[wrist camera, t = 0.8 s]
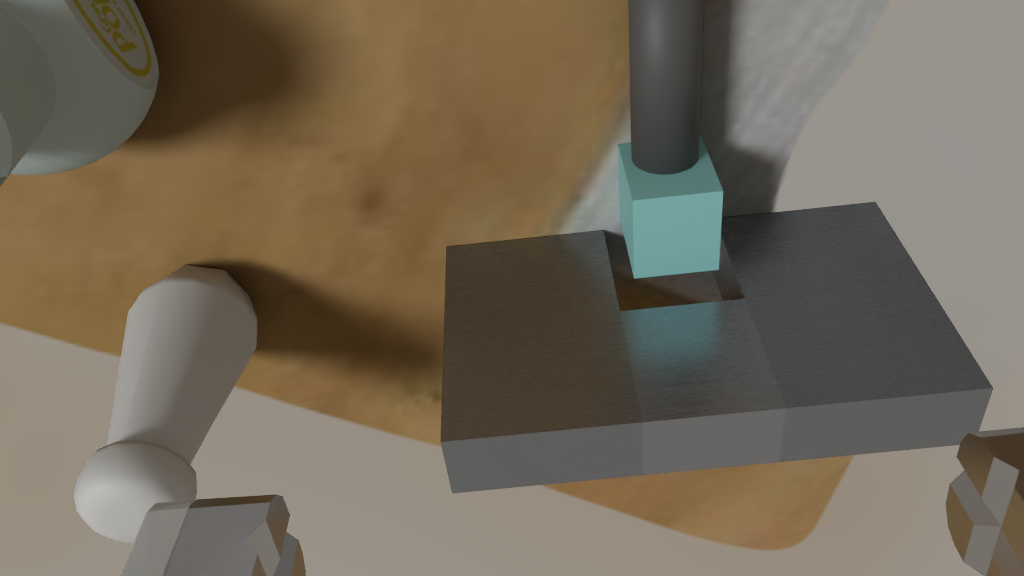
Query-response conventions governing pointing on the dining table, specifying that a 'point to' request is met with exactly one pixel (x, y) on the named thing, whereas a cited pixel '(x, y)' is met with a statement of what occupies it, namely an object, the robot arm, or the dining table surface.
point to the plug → (668, 146)
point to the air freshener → (71, 82)
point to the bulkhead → (698, 356)
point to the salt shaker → (166, 396)
